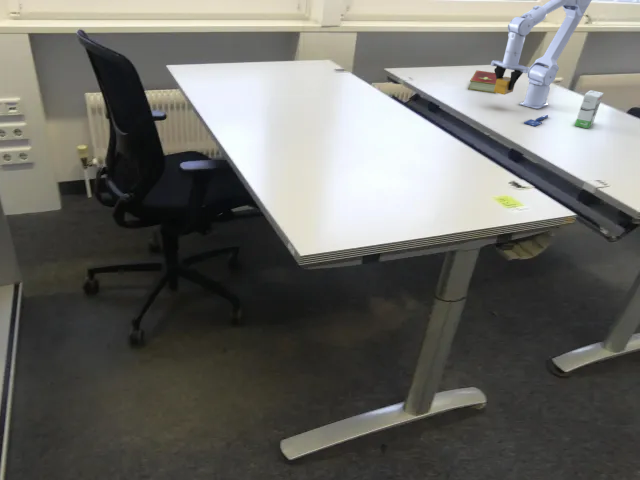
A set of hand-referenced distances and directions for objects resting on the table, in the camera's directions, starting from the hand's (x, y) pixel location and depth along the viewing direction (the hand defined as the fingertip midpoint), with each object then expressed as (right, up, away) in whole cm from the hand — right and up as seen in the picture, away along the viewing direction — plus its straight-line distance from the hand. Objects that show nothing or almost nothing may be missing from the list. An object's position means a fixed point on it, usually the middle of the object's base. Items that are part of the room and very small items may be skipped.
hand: (504, 88), depth 217 cm
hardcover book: (+5, +12, +34) cm, 36 cm away
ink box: (+27, -17, -8) cm, 33 cm away
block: (0, -1, +1) cm, 1 cm away
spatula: (+10, -15, -7) cm, 19 cm away
